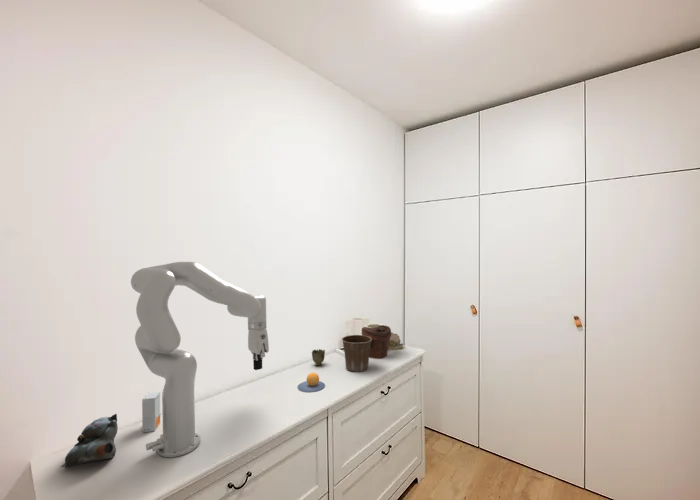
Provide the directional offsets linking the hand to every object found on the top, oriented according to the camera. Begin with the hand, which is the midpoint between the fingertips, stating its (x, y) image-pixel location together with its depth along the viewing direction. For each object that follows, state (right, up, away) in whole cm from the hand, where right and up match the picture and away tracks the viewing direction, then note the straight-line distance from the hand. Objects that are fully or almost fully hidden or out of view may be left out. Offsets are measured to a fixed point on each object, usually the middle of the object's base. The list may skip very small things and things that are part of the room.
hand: (257, 368), depth 140 cm
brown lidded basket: (+55, -14, +63) cm, 85 cm away
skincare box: (-35, -16, -17) cm, 42 cm away
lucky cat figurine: (-42, -16, -35) cm, 57 cm away
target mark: (+20, -15, +18) cm, 31 cm away
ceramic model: (+66, -14, +78) cm, 104 cm away
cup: (+21, -15, +47) cm, 54 cm away
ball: (+21, -12, +19) cm, 31 cm away
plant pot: (+43, -15, +41) cm, 61 cm away
